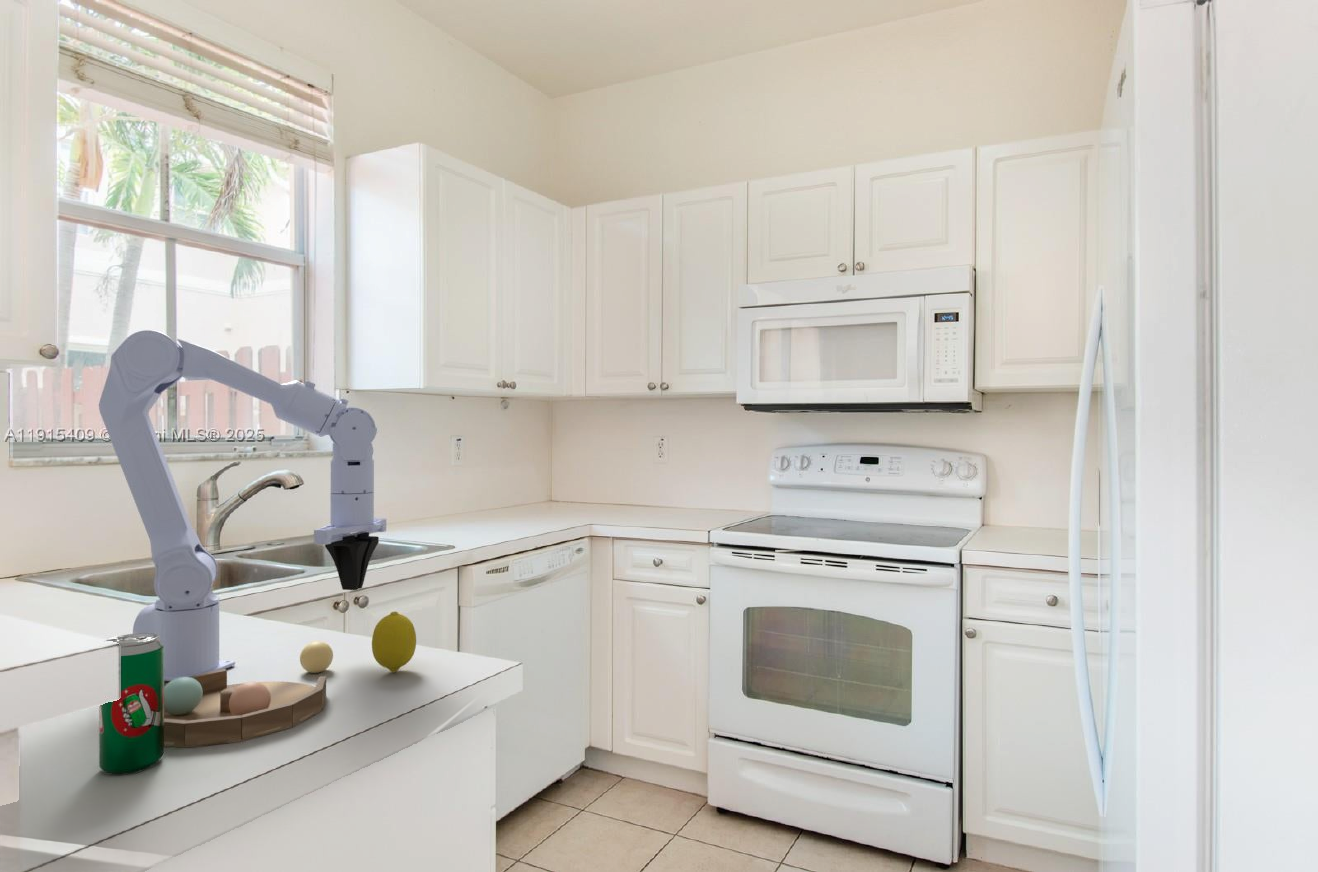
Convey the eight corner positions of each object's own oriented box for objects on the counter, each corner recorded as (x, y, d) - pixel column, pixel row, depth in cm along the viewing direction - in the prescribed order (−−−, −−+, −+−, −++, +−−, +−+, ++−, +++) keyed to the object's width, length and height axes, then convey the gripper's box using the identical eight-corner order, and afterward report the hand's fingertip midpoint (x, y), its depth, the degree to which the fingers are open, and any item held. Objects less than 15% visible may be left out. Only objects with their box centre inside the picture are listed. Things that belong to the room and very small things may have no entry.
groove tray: (81, 738, 79) (81, 714, 79) (222, 680, 98) (222, 661, 98) (245, 753, 76) (245, 729, 76) (358, 690, 94) (358, 670, 94)
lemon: (402, 680, 98) (402, 617, 98) (363, 677, 99) (363, 615, 99) (424, 667, 104) (424, 607, 104) (386, 664, 105) (386, 605, 105)
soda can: (120, 755, 75) (120, 632, 75) (174, 753, 76) (174, 630, 76) (86, 778, 70) (86, 646, 70) (145, 776, 71) (145, 644, 71)
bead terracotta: (220, 724, 82) (220, 687, 82) (247, 711, 86) (247, 675, 86) (253, 727, 81) (253, 689, 81) (278, 714, 85) (279, 678, 85)
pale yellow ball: (293, 675, 100) (293, 644, 100) (312, 666, 104) (312, 637, 104) (320, 677, 99) (320, 646, 99) (339, 668, 103) (339, 638, 103)
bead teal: (151, 718, 84) (151, 682, 84) (180, 706, 88) (180, 671, 88) (182, 721, 83) (182, 684, 83) (211, 708, 87) (211, 673, 87)
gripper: (347, 497, 102) (347, 600, 102) (404, 489, 116) (404, 580, 116) (299, 496, 103) (299, 598, 103) (362, 488, 117) (362, 578, 117)
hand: (352, 588), depth 109 cm, fingers closed
